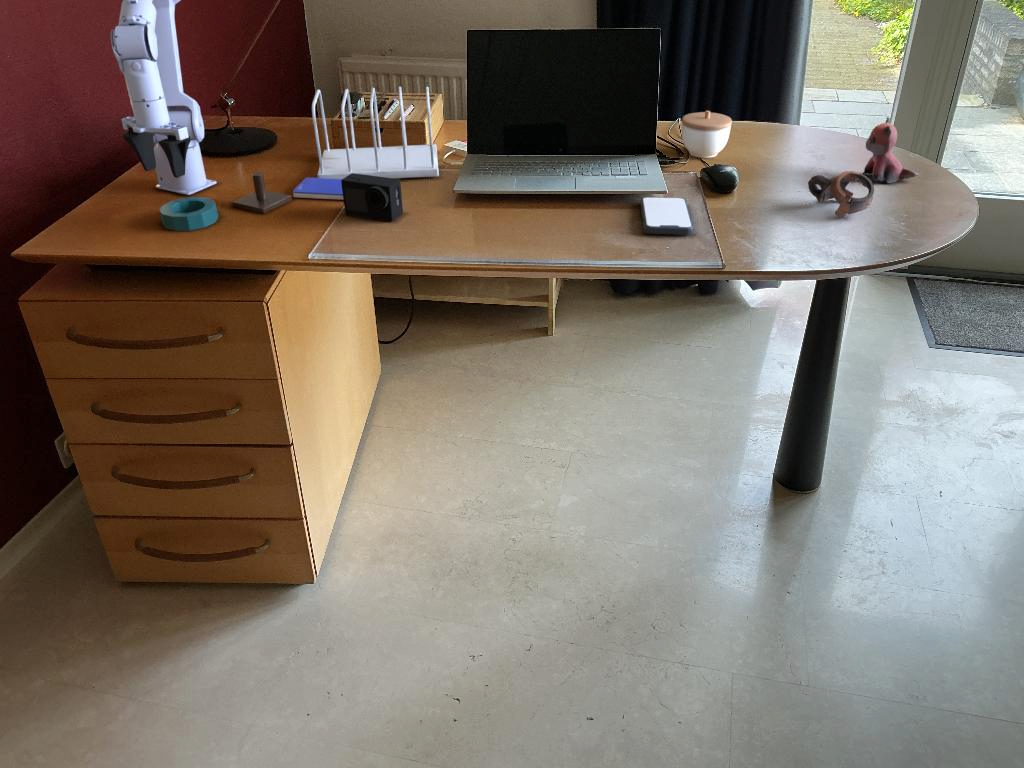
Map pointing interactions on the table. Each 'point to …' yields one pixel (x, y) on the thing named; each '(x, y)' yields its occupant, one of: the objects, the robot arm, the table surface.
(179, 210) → the ring
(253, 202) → the stand
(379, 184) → the digital camera
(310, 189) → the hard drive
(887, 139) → the stuffed fox
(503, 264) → the table surface
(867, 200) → the brown curved piece
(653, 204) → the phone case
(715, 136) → the trinket box
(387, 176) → the file sorter
